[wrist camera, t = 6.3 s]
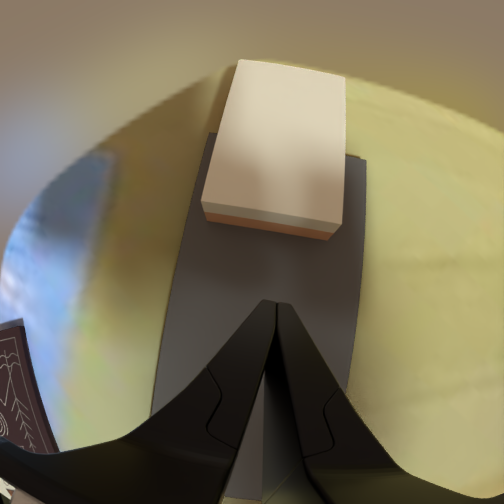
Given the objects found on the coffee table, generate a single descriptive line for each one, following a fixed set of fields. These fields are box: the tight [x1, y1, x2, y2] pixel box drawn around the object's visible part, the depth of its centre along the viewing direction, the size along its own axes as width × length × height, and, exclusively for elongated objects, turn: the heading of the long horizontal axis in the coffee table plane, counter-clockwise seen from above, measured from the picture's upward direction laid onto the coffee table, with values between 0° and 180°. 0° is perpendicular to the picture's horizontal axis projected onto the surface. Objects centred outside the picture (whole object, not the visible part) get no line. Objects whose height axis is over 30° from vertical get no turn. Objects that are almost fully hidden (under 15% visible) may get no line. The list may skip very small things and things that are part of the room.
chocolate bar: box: [0, 326, 60, 499], centre depth 12 cm, size 9×1×18 cm
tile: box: [201, 59, 346, 241], centre depth 15 cm, size 2×6×9 cm
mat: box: [151, 133, 366, 501], centre depth 15 cm, size 19×9×1 cm, turn 171°
